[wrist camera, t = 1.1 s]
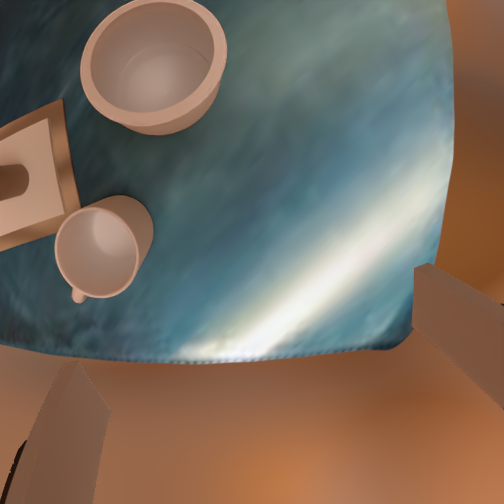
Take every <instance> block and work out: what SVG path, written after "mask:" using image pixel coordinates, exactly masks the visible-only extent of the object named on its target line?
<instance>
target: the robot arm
mask: <svg viewBox="0 0 504 504" xmlns="http://www.w3.org/2000/svg"><path fill="white" fill-rule="evenodd" d="M412 327H414V328H415V329H416V330H417V331H418V332H419V333H421V334H422V335H423V336H424V337H425V338H426V339H427V340H429V341H430V342H431V343H432V344H433V345H434V346H435V347H436V348H438V349H439V350H440V351H441V352H442V353H443V354H444V355H445V356H447V357H448V358H449V359H450V360H451V361H452V362H453V363H454V364H455V365H456V366H458V367H459V368H460V369H461V370H462V371H463V372H464V373H465V374H466V375H467V376H469V378H471V379H472V380H473V381H474V382H475V383H476V384H477V385H478V386H479V387H480V388H481V389H482V390H483V391H485V393H486V394H488V395H489V396H490V397H491V398H492V399H493V400H494V401H495V402H496V403H497V404H498V405H499V406H500V407H501V408H502V409H503V410H504V304H499V303H498V302H496V301H494V300H493V299H491V298H490V297H488V296H486V295H484V294H483V293H481V292H479V291H478V290H476V289H474V288H472V287H471V286H469V285H467V284H466V283H464V282H462V281H460V280H459V279H456V278H455V277H453V276H451V275H450V274H448V273H446V272H444V271H442V270H441V269H439V268H437V267H435V266H433V265H431V264H429V263H426V264H423V265H421V266H418V267H416V268H414V293H413V314H412ZM110 413H111V410H110V409H109V408H108V406H107V404H106V403H105V402H104V400H103V399H102V397H101V396H100V394H99V393H98V391H97V390H96V388H95V387H94V385H93V384H92V382H91V380H90V379H89V377H88V376H87V374H86V373H85V371H84V370H83V368H82V366H81V364H80V363H79V361H74V362H67V363H63V365H62V367H61V369H60V371H59V372H58V374H57V376H56V378H55V380H54V382H53V384H52V386H51V388H50V390H49V392H48V395H47V397H46V399H45V401H44V403H43V405H42V407H41V410H40V412H39V414H38V416H37V418H36V421H35V423H34V425H33V428H32V430H31V432H30V435H29V437H28V439H27V440H26V441H25V442H24V443H23V444H22V446H21V447H20V448H19V449H18V451H17V454H16V457H15V459H14V464H13V465H12V467H11V470H10V471H11V473H9V475H8V478H7V481H6V484H5V487H4V490H3V493H2V497H1V500H0V504H93V499H94V492H95V486H96V480H97V474H98V469H99V464H100V459H101V454H102V449H103V444H104V439H105V435H106V430H107V426H108V422H109V417H110Z"/></svg>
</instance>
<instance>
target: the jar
mask: <svg viewBox="0 0 504 504" xmlns="http://www.w3.org/2000/svg"><path fill="white" fill-rule="evenodd" d="M226 58H227V43H226V38H225V35H224V32H223V29H222V27H221V25H220V23H219V22H218V20H217V19H216V18H215V17H214V15H213V14H212V13H211V12H210V11H209V10H207V9H206V8H205V7H203V6H202V5H200V4H198V3H197V2H194V1H192V0H134V1H132V2H129V3H127V4H125V5H123V6H122V7H120V8H118V9H117V10H115V11H114V12H112V13H111V14H110V15H108V16H107V17H106V18H105V19H104V20H103V21H102V22H101V23H100V24H99V25H98V26H97V28H96V29H95V30H94V32H93V33H92V35H91V36H90V38H89V40H88V42H87V44H86V46H85V49H84V51H83V55H82V59H81V66H80V75H81V82H82V86H83V89H84V92H85V94H86V96H87V98H88V100H89V101H90V103H91V104H92V105H93V106H94V107H95V109H96V110H98V111H99V112H100V113H101V114H102V115H104V116H105V117H107V118H109V119H111V120H113V121H115V122H118V123H121V124H122V125H124V126H125V127H127V128H129V129H131V130H133V131H136V132H139V133H143V134H148V135H166V134H172V133H175V132H178V131H181V130H183V129H185V128H187V127H189V126H191V125H192V124H194V123H195V122H196V121H198V120H199V119H200V118H201V117H202V116H203V115H204V114H205V113H206V112H207V110H208V109H209V108H210V106H211V105H212V103H213V101H214V99H215V97H216V95H217V93H218V90H219V86H220V82H221V76H222V74H223V71H224V68H225V64H226Z"/></svg>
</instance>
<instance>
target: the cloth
mask: <svg viewBox="0 0 504 504" xmlns="http://www.w3.org/2000/svg"><path fill="white" fill-rule="evenodd" d="M46 118H50V121H51V129H52V137H53V144H54V151H55V157H56V163H57V168H58V173H59V179H60V184H61V188H62V193H63V197H64V202H65V206H66V210H67V213H65V214H62V215H59V216H56V217H53V218H50V219H47V220H44V221H41V222H38V223H35V224H32V225H30V226H27V227H24V228H21V229H19V230H16V231H13V232H10V233H8V234H5V235H3V236H0V251H3V250H6V249H9V248H12V247H15V246H17V245H20V244H23V243H26V242H29V241H32V240H36V239H39V238H42V237H45V236H48V235H51V234H54V233H58V230H59V228H60V226H61V224H62V223H63V222H64V220H65V219H66V218H67V217H68V216H69V215H70V214H72V213H73V212H75V211H77V210H79V209H81V208H82V206H81V202H80V198H79V193H78V189H77V184H76V179H75V174H74V169H73V164H72V158H71V152H70V146H69V140H68V133H67V126H66V118H65V109H64V99H63V98H62V99H59V100H57V101H55V102H52V103H50V104H48V105H46V106H43V107H41V108H39V109H37V110H35V111H33V112H31V113H28V114H26V115H24V116H22V117H20V118H19V119H17V120H15V121H13V122H11V123H9V124H7V125H5V126H4V127H2V128H0V141H1V140H3V139H5V138H7V137H9V136H11V135H13V134H15V133H17V132H19V131H21V130H23V129H25V128H27V127H29V126H31V125H33V124H35V123H37V122H39V121H42V120H44V119H46Z"/></svg>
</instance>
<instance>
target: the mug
mask: <svg viewBox="0 0 504 504" xmlns="http://www.w3.org/2000/svg"><path fill="white" fill-rule="evenodd" d="M153 234H154V229H153V222H152V219H151V216H150V214H149V212H148V211H147V209H146V208H145V207H144V206H143V205H142V204H141V203H140V202H139V201H137V200H136V199H134V198H131V197H128V196H123V195H116V196H111V197H107V198H105V199H102V200H100V201H98V202H95V203H93V204H90V205H88V206H86V207H84V208H81V209H79V210H77V211H75V212H73V213H72V214H70V215H69V216H68V217H67V218H66V219H65V220H64V222H63V223H62V224H61V226H60V228H59V230H58V233H57V236H56V240H55V257H56V262H57V265H58V268H59V270H60V272H61V274H62V275H63V277H64V278H65V280H66V281H67V282H68V283H69V284H70V285H71V286H72V287H73V290H72V298H73V300H74V301H75V302H76V303H82V302H83V301H84V300H85V299H86V297H87V296H90V297H95V298H107V297H112V296H115V295H117V294H119V293H121V292H122V291H124V290H125V289H126V288H127V287H128V286H129V285H130V284H131V282H132V281H133V279H134V277H135V275H136V273H137V271H138V269H139V268H140V266H141V264H142V262H143V260H144V258H145V256H146V254H147V252H148V250H149V249H150V246H151V244H152V240H153Z"/></svg>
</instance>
